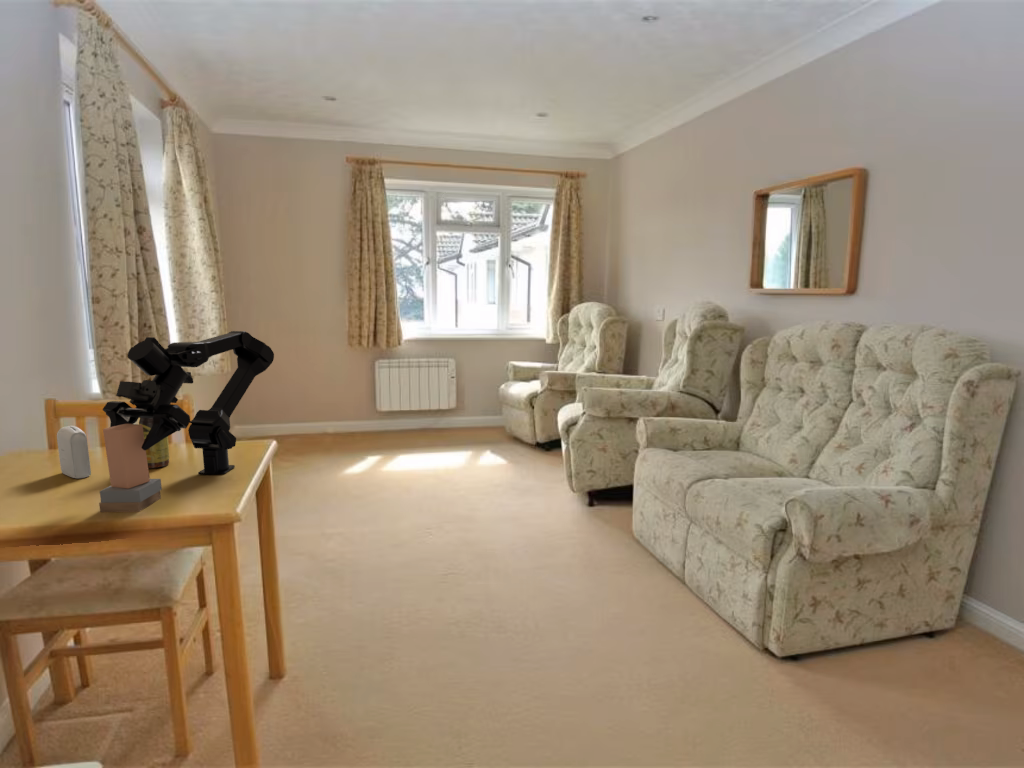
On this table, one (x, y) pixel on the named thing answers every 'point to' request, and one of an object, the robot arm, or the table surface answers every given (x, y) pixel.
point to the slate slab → (130, 492)
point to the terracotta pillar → (126, 455)
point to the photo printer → (73, 452)
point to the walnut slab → (129, 505)
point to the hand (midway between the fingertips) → (126, 447)
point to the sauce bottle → (155, 447)
